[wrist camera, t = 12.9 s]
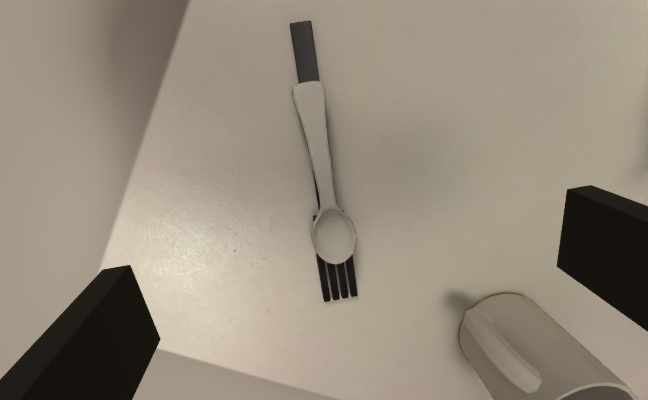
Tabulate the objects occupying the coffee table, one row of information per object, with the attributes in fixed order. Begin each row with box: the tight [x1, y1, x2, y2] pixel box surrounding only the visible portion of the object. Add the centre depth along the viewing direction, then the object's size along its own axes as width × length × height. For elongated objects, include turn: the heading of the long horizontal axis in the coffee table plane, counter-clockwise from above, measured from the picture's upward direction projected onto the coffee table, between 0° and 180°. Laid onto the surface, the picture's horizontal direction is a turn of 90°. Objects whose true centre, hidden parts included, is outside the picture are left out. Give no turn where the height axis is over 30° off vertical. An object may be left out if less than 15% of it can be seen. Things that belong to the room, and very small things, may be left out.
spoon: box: [292, 81, 356, 264], centre depth 22 cm, size 3×12×2 cm, turn 10°
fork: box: [290, 21, 357, 302], centre depth 23 cm, size 19×3×1 cm, turn 8°
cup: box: [459, 294, 638, 400], centre depth 24 cm, size 7×10×9 cm
